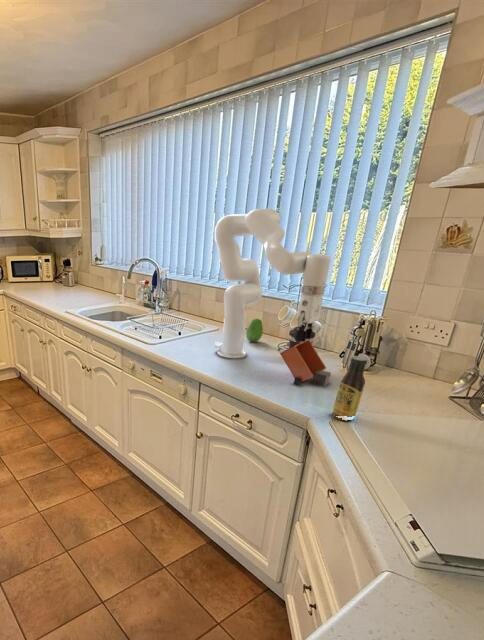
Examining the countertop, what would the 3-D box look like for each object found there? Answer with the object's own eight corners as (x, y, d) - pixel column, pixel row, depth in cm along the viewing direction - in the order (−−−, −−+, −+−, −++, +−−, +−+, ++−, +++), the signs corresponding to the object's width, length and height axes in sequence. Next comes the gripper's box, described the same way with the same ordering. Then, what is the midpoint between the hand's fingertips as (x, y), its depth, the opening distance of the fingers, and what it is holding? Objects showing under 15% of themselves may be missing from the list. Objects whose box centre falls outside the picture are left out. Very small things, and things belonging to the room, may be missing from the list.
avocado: (262, 344, 195) (265, 320, 191) (245, 343, 197) (248, 319, 192) (260, 339, 202) (263, 316, 198) (244, 339, 204) (247, 316, 200)
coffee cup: (286, 365, 167) (292, 330, 161) (283, 357, 176) (288, 325, 170) (312, 366, 164) (318, 331, 159) (307, 359, 173) (313, 326, 168)
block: (326, 375, 143) (323, 386, 145) (330, 372, 146) (328, 383, 148) (313, 372, 146) (311, 383, 148) (318, 369, 149) (315, 380, 151)
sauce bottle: (327, 415, 124) (340, 355, 116) (341, 411, 126) (355, 352, 118) (345, 424, 118) (360, 362, 110) (360, 420, 120) (376, 359, 112)
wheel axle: (293, 384, 147) (294, 377, 146) (310, 373, 157) (312, 367, 156) (298, 386, 146) (300, 379, 145) (316, 374, 156) (317, 368, 155)
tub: (273, 343, 150) (298, 328, 141) (288, 336, 158) (313, 322, 150) (297, 383, 147) (325, 371, 139) (312, 374, 156) (338, 362, 147)
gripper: (314, 294, 133) (304, 346, 140) (332, 288, 143) (322, 337, 151) (291, 292, 138) (283, 342, 145) (311, 286, 148) (302, 333, 156)
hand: (303, 339), depth 148 cm, fingers closed on tub, 4 cm apart
